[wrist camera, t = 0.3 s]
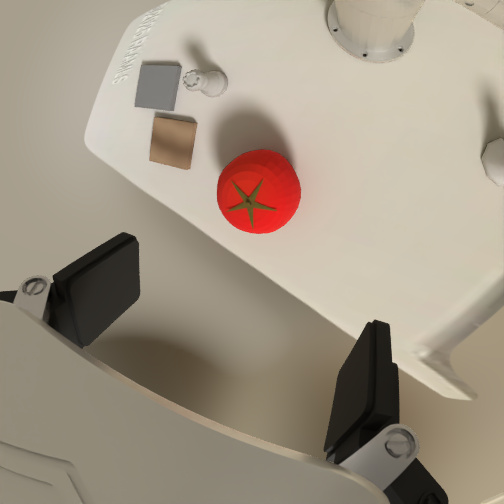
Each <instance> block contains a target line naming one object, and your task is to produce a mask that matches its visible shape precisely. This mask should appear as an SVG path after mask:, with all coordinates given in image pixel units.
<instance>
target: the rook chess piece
mask: <svg viewBox="0 0 504 504" xmlns="http://www.w3.org/2000/svg"><path fill="white" fill-rule="evenodd" d="M183 80H184V83H183V84H184V86H185V87H186V88H187V89H188V90H189V91H197V90H201V91H202V93H204V94H205V95H206V96H210V97H219V96H220V95H222V94H223V93H224V92H225V91H226V89H227V86H228V81H227V78H226V76H225V75H224V74H223V73H222V72H218V71H210V72H207V73H206V74H205V73H203V72H201V71H200V70H196V69H194V70H191V71H190V72H187V73H186V76H185V77H183Z"/></svg>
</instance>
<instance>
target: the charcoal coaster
mask: <svg viewBox="0 0 504 504" xmlns="http://www.w3.org/2000/svg"><path fill="white" fill-rule="evenodd" d="M181 68H182V67H180V66H167V65H141V70H140V75H139V81H138V87H137V93H136V100H135V107H142V108H151V109H159V110H167V111H174V106H175V100H176V95H177V89H178V84H179V79H180V73H181Z"/></svg>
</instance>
